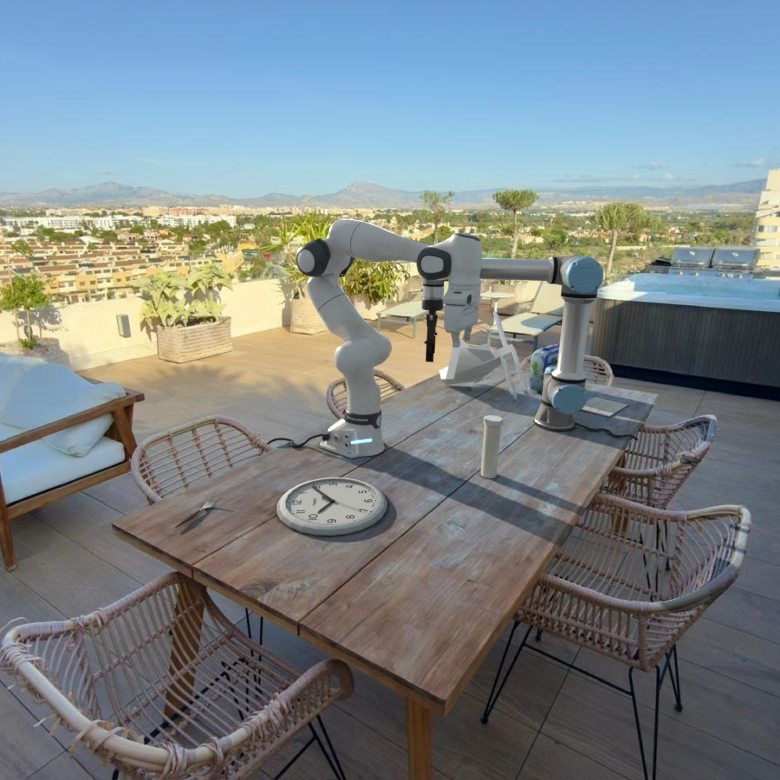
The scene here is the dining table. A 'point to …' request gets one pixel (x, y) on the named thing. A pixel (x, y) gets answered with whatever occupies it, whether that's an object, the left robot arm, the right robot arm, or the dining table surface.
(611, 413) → the invitation card
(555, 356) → the lunch box
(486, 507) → the dining table surface
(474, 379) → the white plastic object
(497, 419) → the lid
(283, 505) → the wall clock
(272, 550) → the dining table surface
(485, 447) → the jar
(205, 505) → the fork
